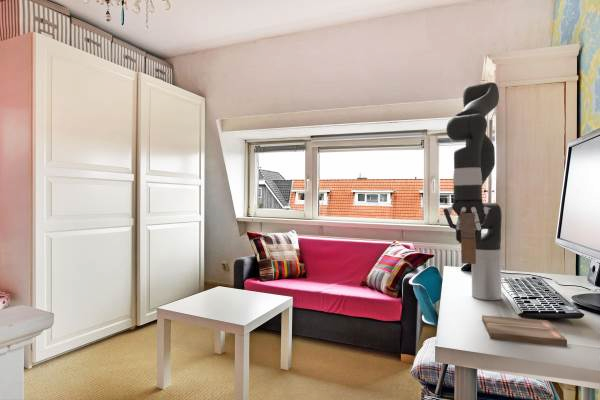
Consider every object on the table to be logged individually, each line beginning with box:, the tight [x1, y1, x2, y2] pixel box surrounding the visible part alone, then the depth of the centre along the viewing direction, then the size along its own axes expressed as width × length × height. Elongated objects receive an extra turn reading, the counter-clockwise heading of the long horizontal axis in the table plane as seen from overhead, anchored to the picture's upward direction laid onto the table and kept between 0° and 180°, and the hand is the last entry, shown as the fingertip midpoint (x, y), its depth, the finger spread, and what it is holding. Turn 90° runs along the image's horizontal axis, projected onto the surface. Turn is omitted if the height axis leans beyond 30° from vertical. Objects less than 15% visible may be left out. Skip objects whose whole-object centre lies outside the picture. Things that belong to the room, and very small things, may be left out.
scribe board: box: [481, 314, 568, 347], centre depth 93 cm, size 14×16×2 cm
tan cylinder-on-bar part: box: [460, 213, 476, 265], centre depth 104 cm, size 4×11×18 cm, turn 153°
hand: (468, 242), depth 104 cm, fingers closed on tan cylinder-on-bar part, 4 cm apart
